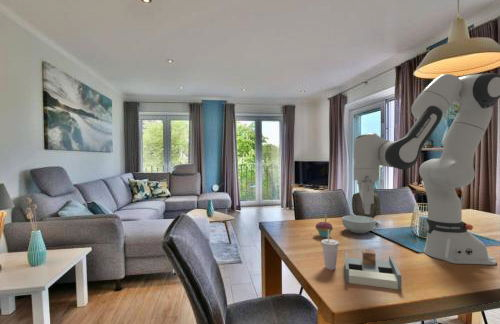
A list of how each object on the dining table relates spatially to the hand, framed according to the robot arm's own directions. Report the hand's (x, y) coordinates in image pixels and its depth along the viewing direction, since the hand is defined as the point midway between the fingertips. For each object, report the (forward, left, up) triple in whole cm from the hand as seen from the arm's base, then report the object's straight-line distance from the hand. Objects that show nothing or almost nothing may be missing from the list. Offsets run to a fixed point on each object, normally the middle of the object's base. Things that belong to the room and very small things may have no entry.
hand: (366, 211), depth 102 cm
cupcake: (+18, -29, -20) cm, 39 cm away
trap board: (0, +12, -20) cm, 23 cm away
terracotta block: (0, +7, -17) cm, 18 cm away
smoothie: (+13, +9, -20) cm, 26 cm away
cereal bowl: (+1, -42, -20) cm, 46 cm away
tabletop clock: (-5, -66, -20) cm, 69 cm away
